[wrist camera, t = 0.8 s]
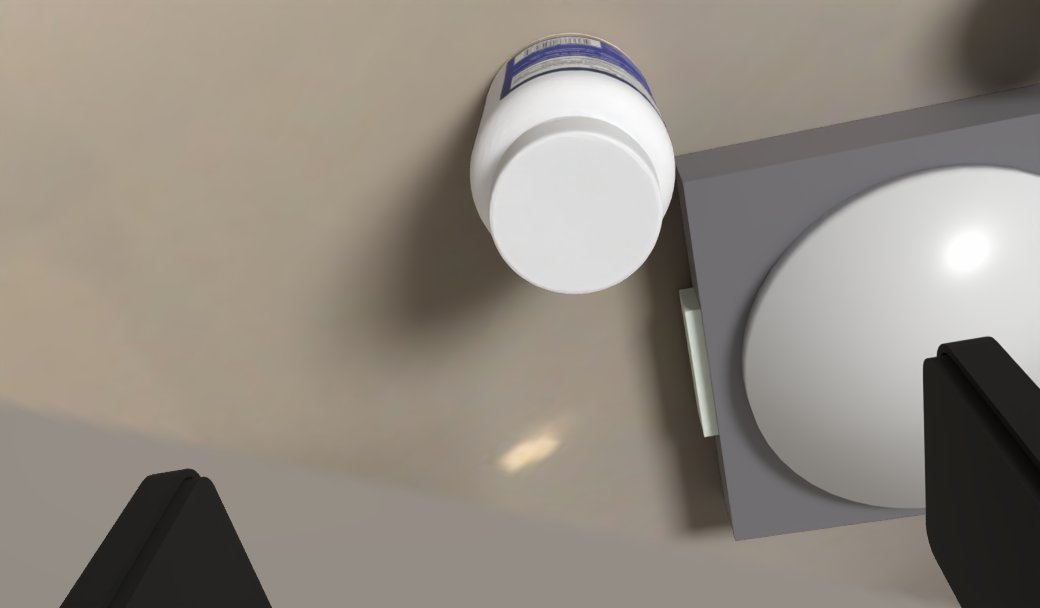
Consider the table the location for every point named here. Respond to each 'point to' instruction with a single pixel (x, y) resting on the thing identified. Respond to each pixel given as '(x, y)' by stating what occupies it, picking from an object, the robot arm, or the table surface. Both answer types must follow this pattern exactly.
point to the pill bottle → (572, 164)
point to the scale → (853, 297)
